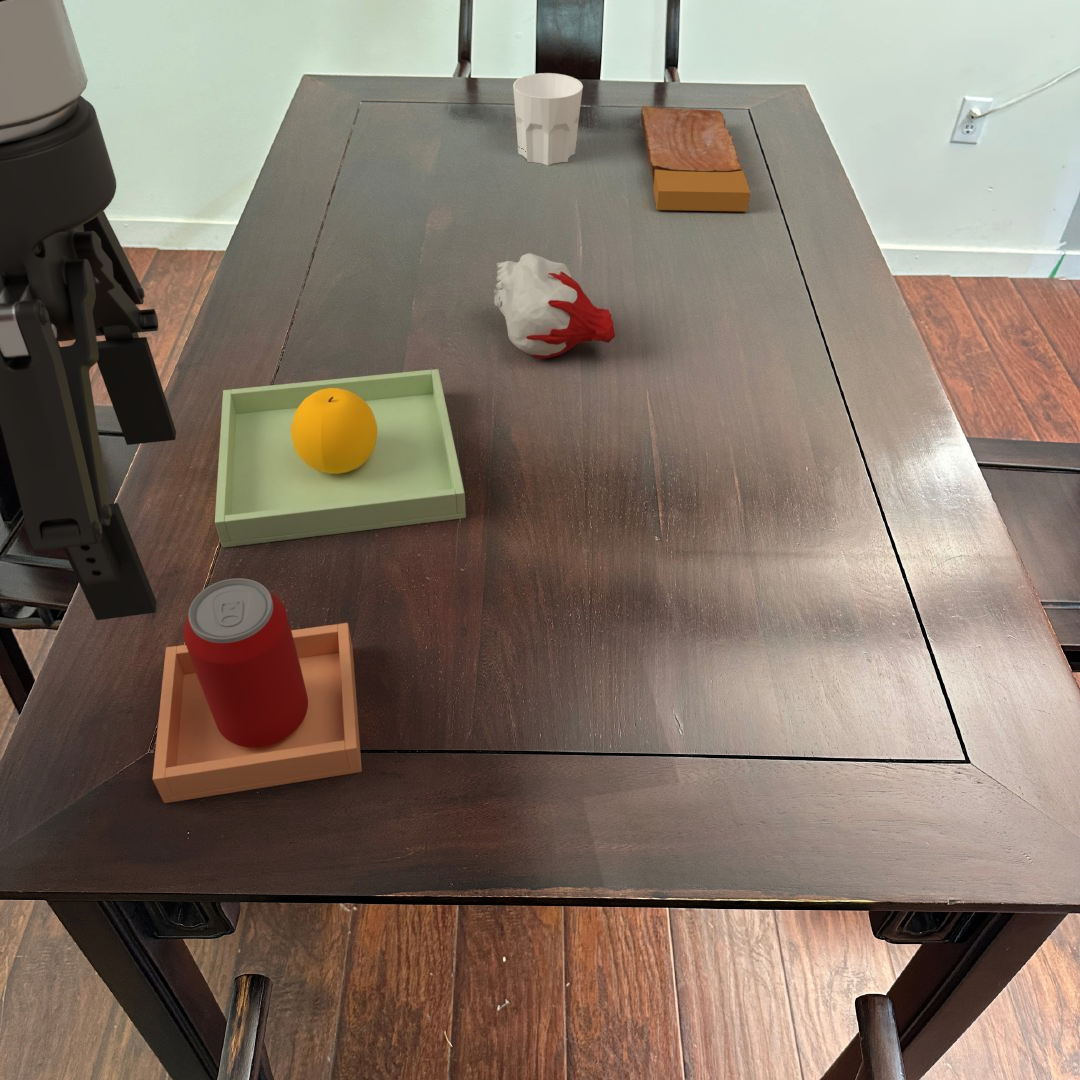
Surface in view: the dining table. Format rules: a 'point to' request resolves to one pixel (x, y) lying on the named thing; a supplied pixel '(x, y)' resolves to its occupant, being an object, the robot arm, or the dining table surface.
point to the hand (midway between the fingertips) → (140, 517)
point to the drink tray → (308, 753)
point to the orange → (334, 431)
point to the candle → (547, 308)
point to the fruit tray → (336, 499)
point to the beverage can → (246, 662)
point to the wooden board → (693, 161)
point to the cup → (547, 116)
